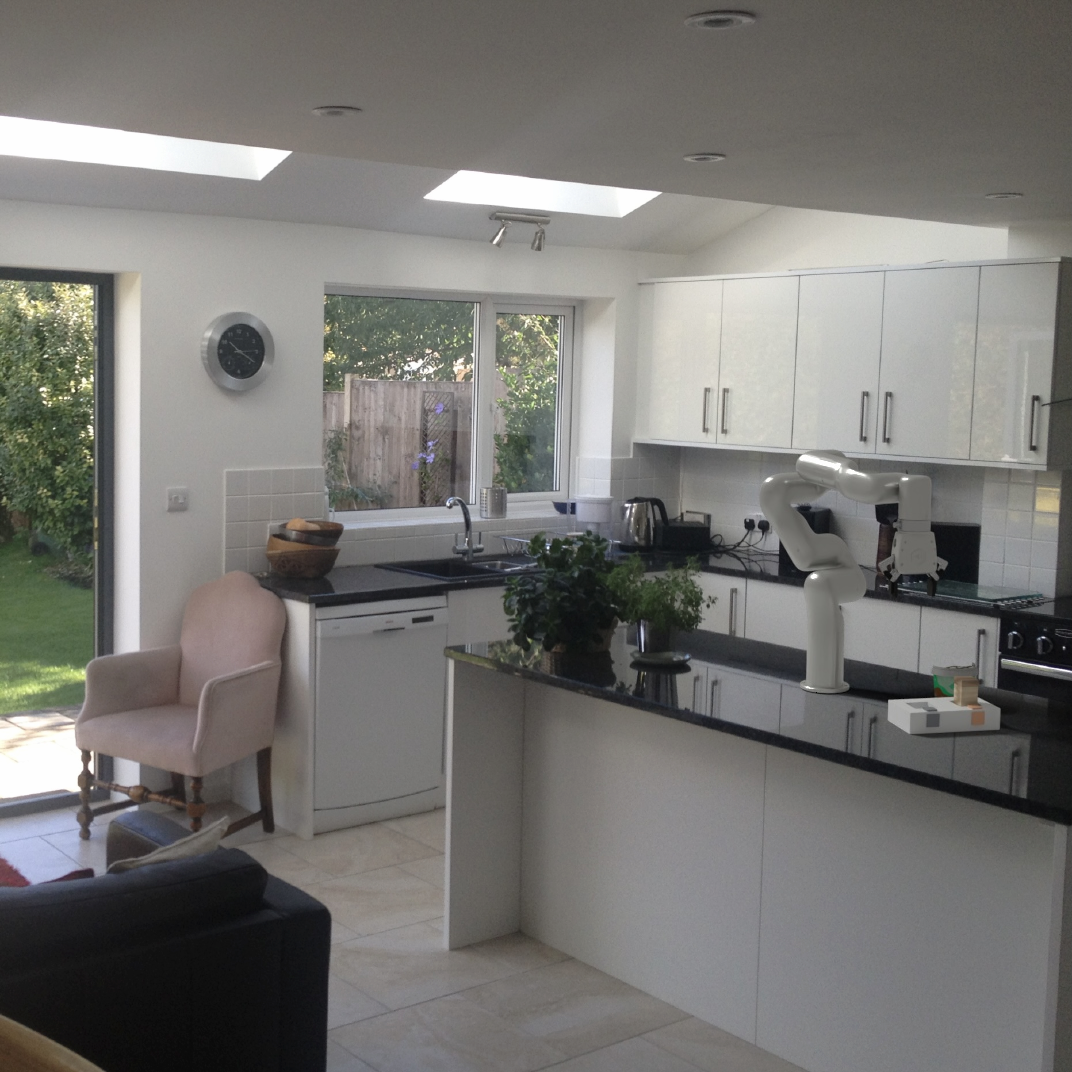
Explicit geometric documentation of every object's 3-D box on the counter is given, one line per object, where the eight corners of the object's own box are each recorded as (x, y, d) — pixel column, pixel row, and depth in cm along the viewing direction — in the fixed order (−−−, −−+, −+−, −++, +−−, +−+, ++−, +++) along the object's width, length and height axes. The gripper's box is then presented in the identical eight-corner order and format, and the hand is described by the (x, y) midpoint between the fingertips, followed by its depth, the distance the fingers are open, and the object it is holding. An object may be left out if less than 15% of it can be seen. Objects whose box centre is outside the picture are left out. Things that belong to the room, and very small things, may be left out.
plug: (952, 717, 301) (954, 676, 300) (969, 717, 302) (970, 675, 300) (960, 722, 297) (961, 680, 296) (977, 721, 298) (978, 679, 296)
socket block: (887, 720, 303) (888, 698, 302) (974, 716, 306) (975, 694, 306) (910, 734, 291) (910, 711, 290) (1000, 730, 294) (1001, 707, 294)
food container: (944, 710, 312) (945, 670, 310) (929, 704, 318) (931, 665, 316) (987, 707, 315) (989, 667, 314) (973, 701, 321) (974, 662, 320)
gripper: (886, 529, 302) (884, 600, 304) (955, 527, 304) (952, 598, 306) (873, 525, 309) (872, 595, 311) (940, 523, 312) (938, 592, 314)
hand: (912, 596), depth 309 cm, fingers open, 9 cm apart
